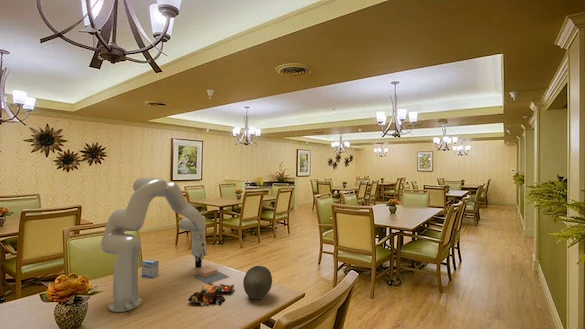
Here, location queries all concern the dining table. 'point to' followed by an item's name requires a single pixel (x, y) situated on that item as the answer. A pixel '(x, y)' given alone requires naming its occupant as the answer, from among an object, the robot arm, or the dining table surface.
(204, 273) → the tile
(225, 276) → the mat
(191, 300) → the food
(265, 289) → the dark round vase
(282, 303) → the dining table surface
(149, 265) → the medicine box
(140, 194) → the robot arm
